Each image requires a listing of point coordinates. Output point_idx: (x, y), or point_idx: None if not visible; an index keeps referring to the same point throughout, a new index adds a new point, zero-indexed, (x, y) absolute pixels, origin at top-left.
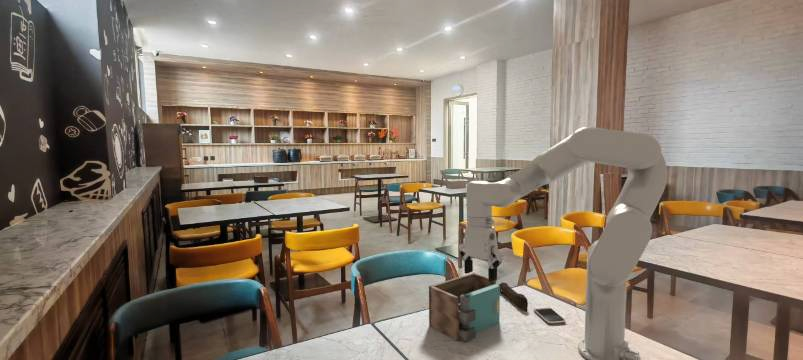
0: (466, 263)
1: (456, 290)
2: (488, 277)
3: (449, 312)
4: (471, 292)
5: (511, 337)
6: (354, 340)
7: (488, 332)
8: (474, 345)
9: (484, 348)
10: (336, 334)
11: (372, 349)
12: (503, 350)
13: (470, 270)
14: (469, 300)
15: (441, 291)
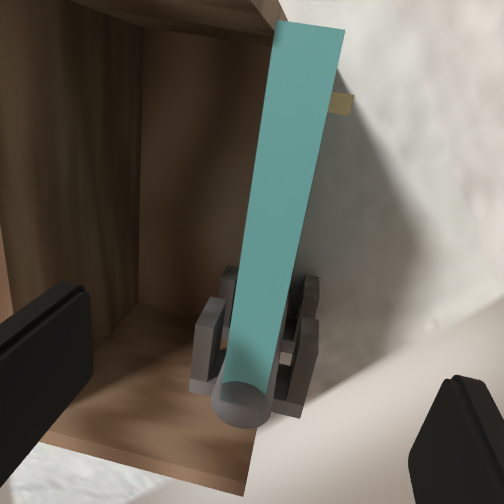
0: (5, 476)
1: (64, 207)
2: (414, 496)
3: None
4: (231, 331)
5: (454, 177)
6: (71, 468)
7: (340, 204)
8: (345, 325)
9: (388, 323)
10: (18, 468)
11: (136, 478)
12: (460, 296)
13: (77, 334)
14: (269, 377)
15: (118, 462)
